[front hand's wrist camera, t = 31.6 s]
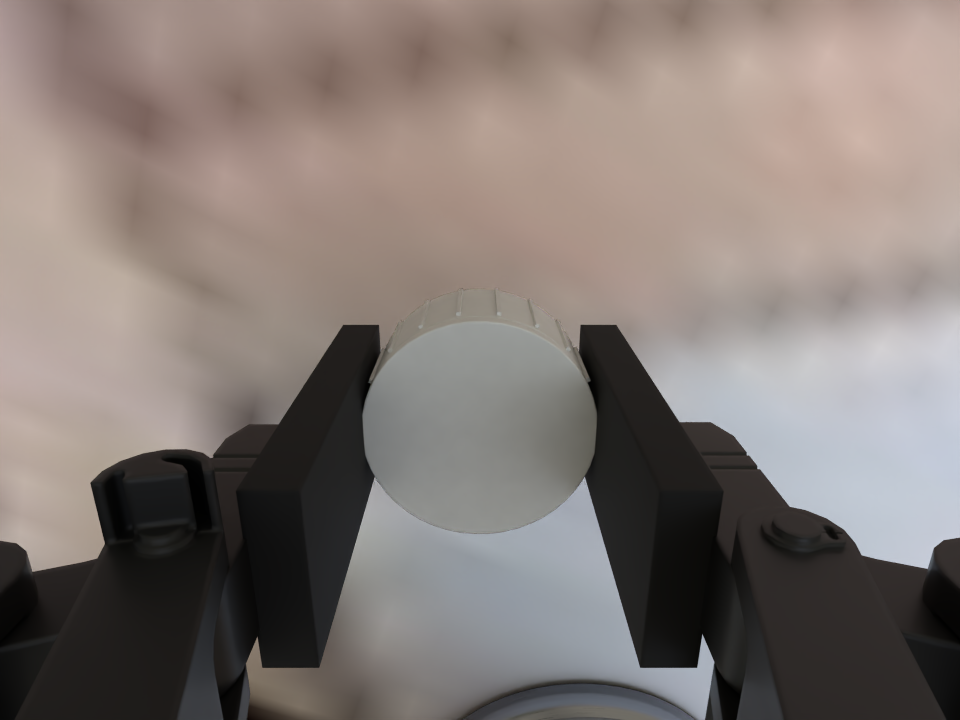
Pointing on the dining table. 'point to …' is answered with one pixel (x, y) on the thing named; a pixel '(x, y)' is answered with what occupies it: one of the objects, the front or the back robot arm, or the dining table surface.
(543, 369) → the cap
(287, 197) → the dining table surface
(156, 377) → the dining table surface
